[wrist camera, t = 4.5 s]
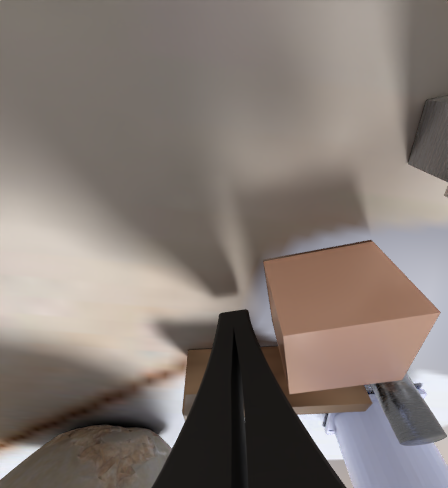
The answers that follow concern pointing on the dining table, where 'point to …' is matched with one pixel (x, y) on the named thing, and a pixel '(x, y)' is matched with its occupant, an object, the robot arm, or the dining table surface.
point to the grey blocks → (404, 391)
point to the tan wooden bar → (300, 402)
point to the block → (345, 317)
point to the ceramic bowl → (93, 460)
